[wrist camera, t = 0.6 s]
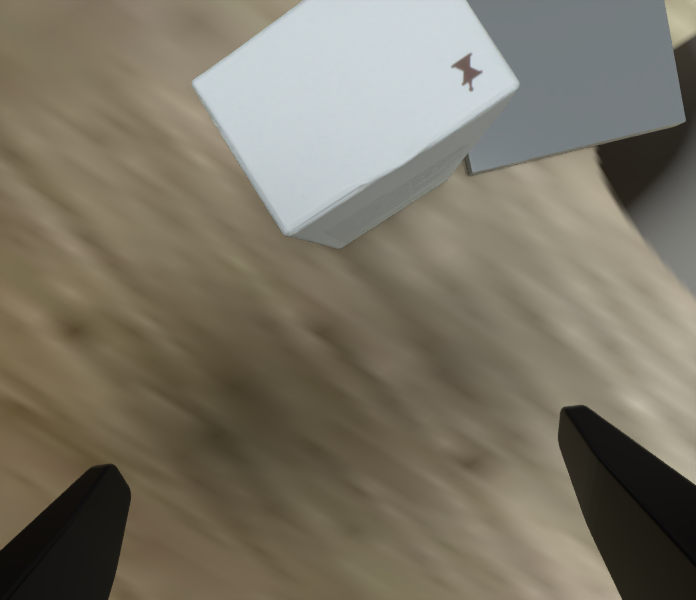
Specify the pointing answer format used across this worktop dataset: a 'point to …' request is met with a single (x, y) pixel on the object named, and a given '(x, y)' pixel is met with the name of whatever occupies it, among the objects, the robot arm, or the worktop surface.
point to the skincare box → (356, 108)
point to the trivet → (577, 76)
